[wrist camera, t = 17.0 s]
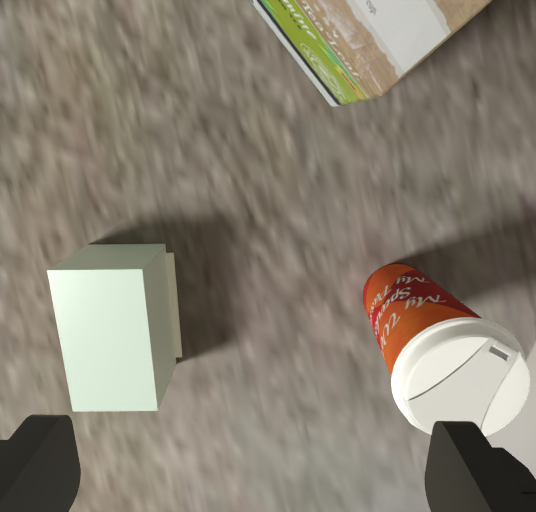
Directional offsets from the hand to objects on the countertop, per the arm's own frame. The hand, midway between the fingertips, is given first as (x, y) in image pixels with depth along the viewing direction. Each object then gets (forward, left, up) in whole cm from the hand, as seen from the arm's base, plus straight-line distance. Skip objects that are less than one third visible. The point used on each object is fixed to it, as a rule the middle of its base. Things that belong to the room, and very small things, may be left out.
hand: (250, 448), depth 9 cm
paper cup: (+7, +11, -26) cm, 29 cm away
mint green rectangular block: (+8, -12, -26) cm, 29 cm away
